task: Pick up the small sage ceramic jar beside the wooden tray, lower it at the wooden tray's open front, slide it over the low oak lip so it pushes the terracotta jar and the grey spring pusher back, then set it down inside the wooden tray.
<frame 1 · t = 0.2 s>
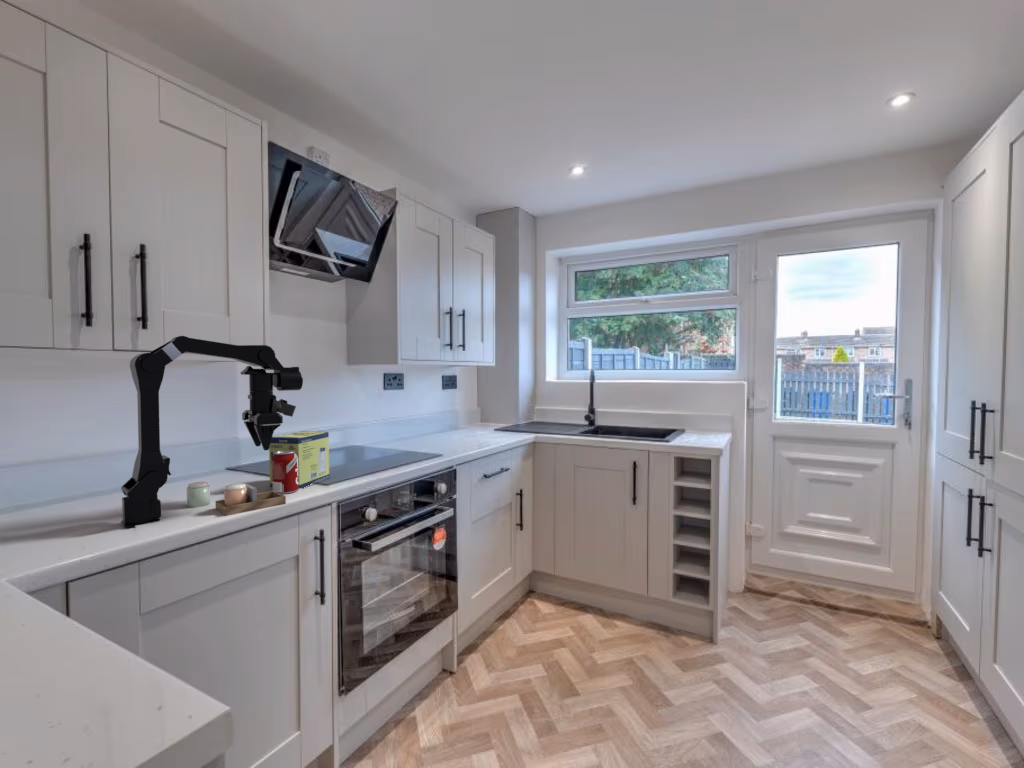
hand: (262, 448, 132), 14 cm above the counter, tool pointing down, fingers open, 9 cm apart
terracotta jar: (236, 509, 122), resting on wooden tray
wooden tray: (251, 507, 124), on the counter
sage jar: (198, 506, 126), on the counter
protein box: (301, 483, 151), on the counter
pusher: (250, 496, 124), point 3 cm above the counter, slide at 0.0 cm
soda can: (285, 493, 139), on the counter
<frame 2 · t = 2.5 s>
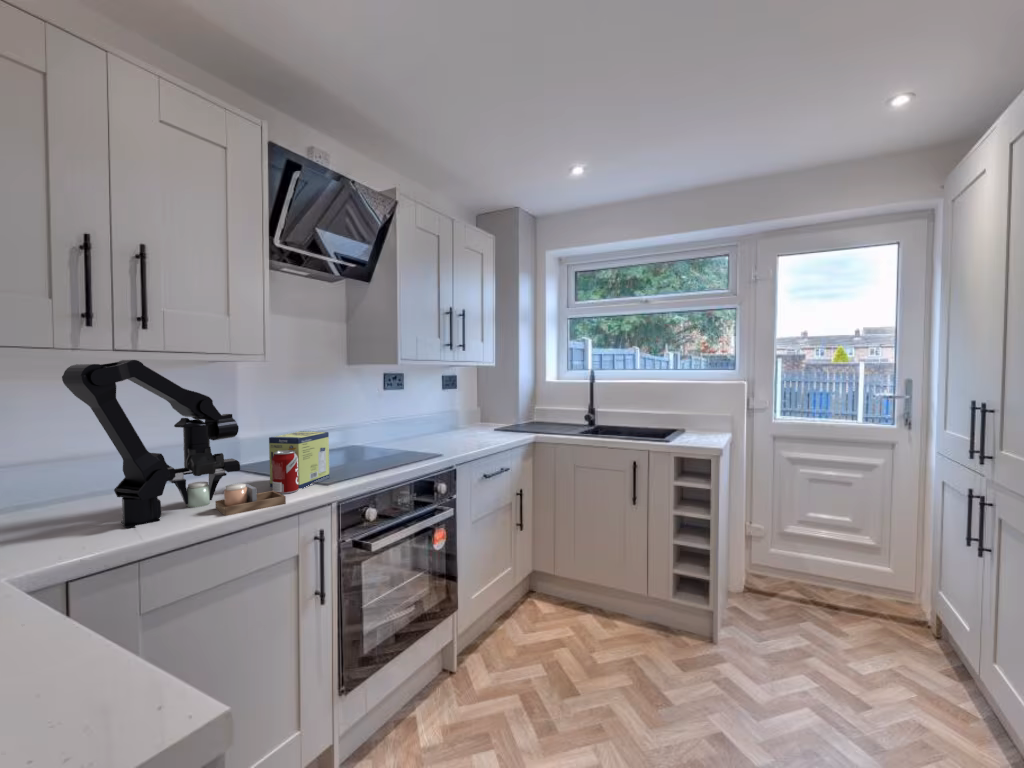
hand: (198, 502, 126), 1 cm above the counter, tool pointing down, fingers closed on sage jar, 5 cm apart
sage jar: (198, 506, 126), on the counter, touching gripper
everything else where it was.
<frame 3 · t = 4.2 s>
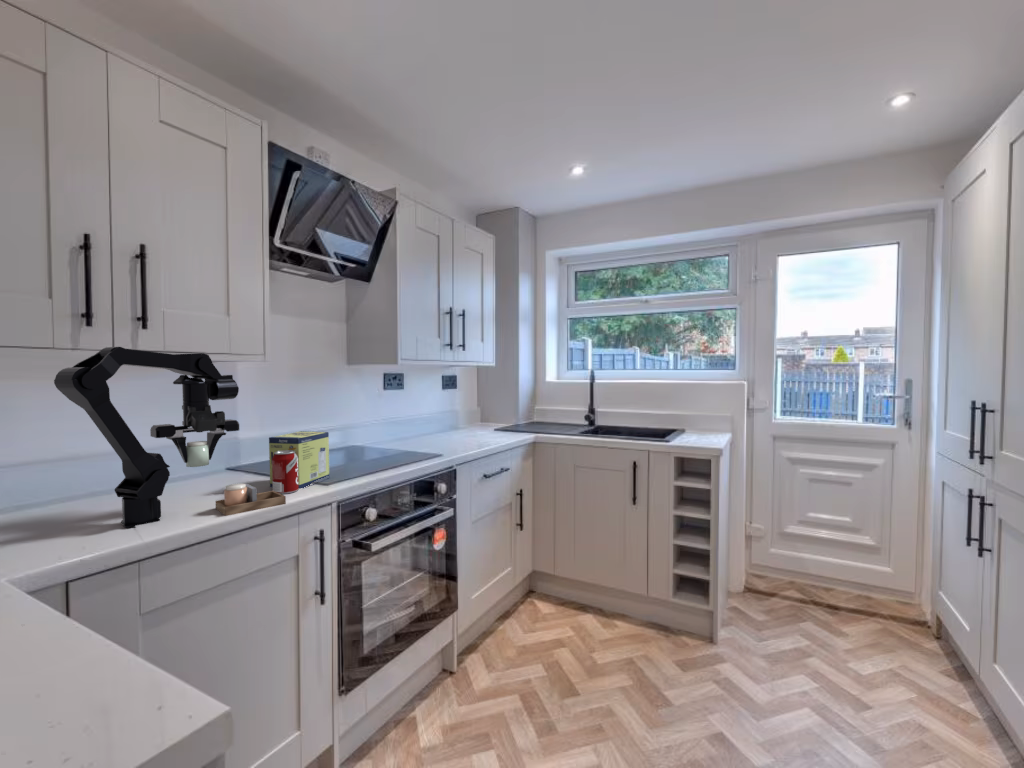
hand: (197, 461, 125), 12 cm above the counter, tool pointing down, fingers closed on sage jar, 5 cm apart
sage jar: (197, 465, 125), point 11 cm above the counter, touching gripper
everything else where it was.
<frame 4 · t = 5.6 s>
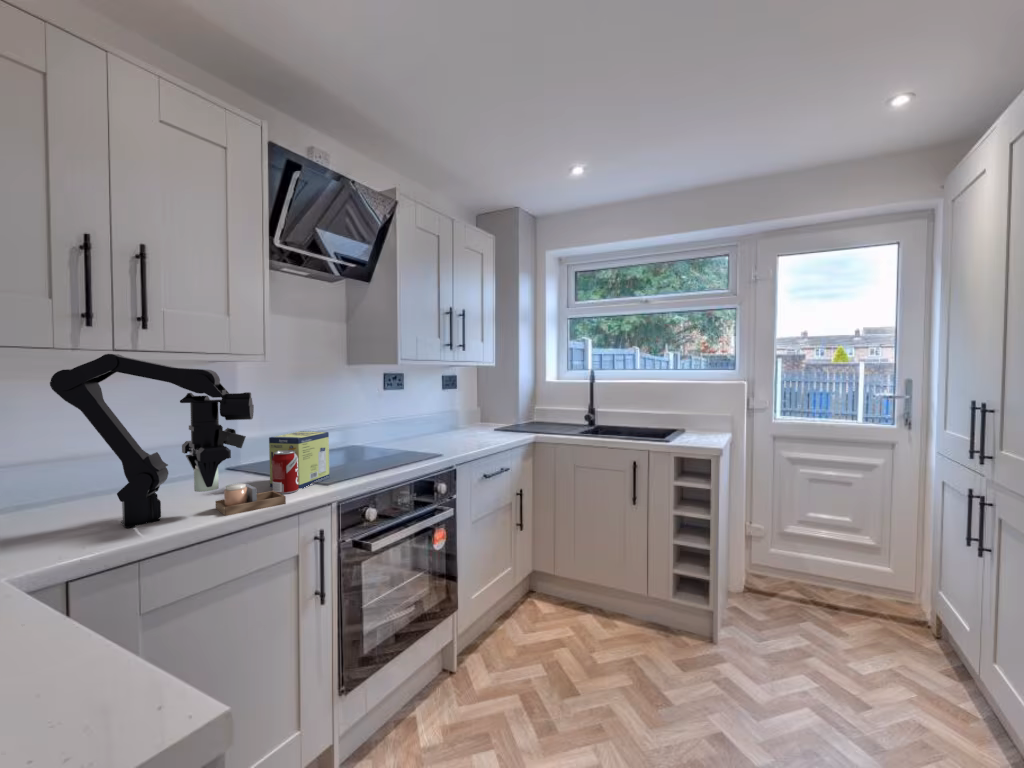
hand: (206, 485, 117), 8 cm above the counter, tool pointing down, fingers closed on sage jar, 5 cm apart
sage jar: (206, 489, 117), point 7 cm above the counter, touching gripper
everything else where it was.
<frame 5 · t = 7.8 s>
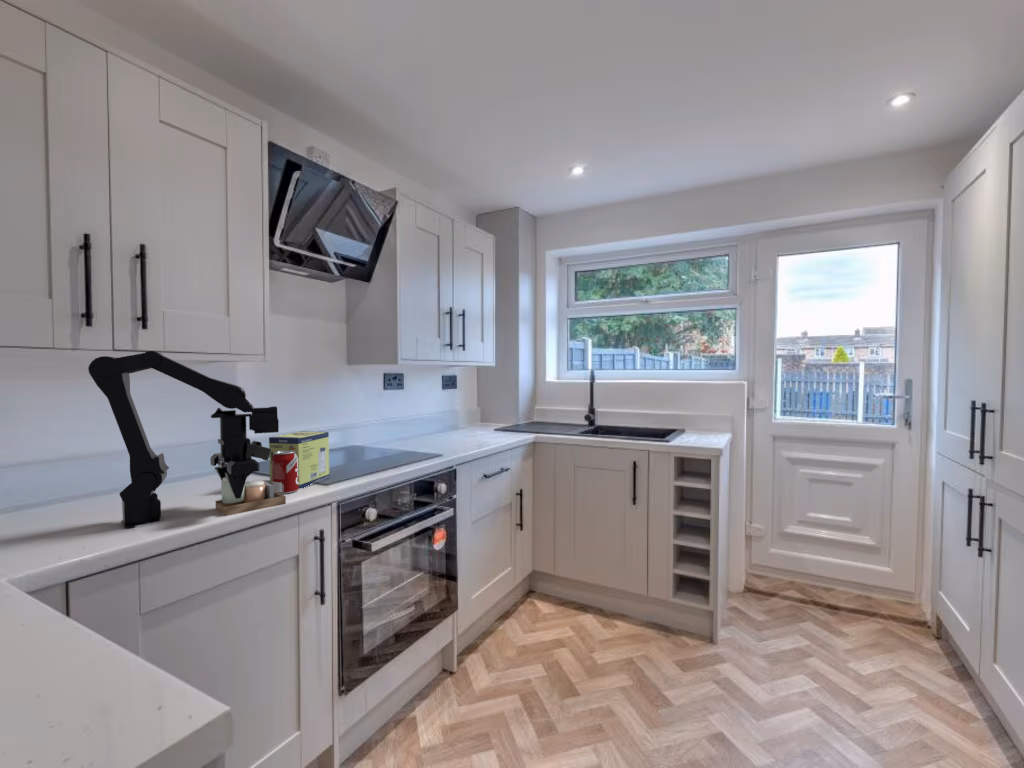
hand: (234, 496, 121), 4 cm above the counter, tool pointing down, fingers closed on sage jar, 5 cm apart
terracotta jar: (255, 505, 125), resting on wooden tray, touching pusher, sage jar
sage jar: (233, 500, 121), point 3 cm above the counter, touching gripper, terracotta jar
pusher: (267, 492, 127), point 3 cm above the counter, slide at 4.1 cm, touching terracotta jar
everything else where it was.
when the fingers open (3 cm above the counter, at t = 8.8 s): sage jar stays where it is, resting on wooden tray, terracotta jar.
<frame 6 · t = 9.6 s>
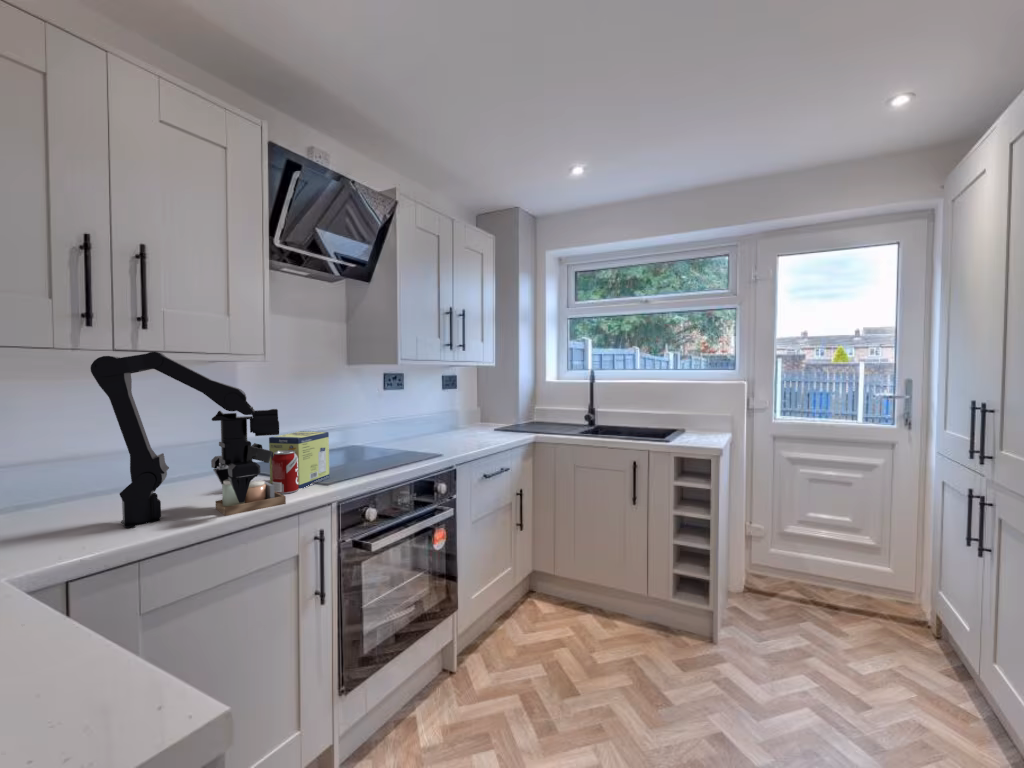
hand: (235, 498, 121), 3 cm above the counter, tool pointing down, fingers open, 9 cm apart
terracotta jar: (255, 505, 125), resting on wooden tray, touching sage jar
sage jar: (234, 503, 121), point 2 cm above the counter, touching wooden tray, terracotta jar
pusher: (267, 492, 127), point 3 cm above the counter, slide at 4.3 cm
everything else where it was.
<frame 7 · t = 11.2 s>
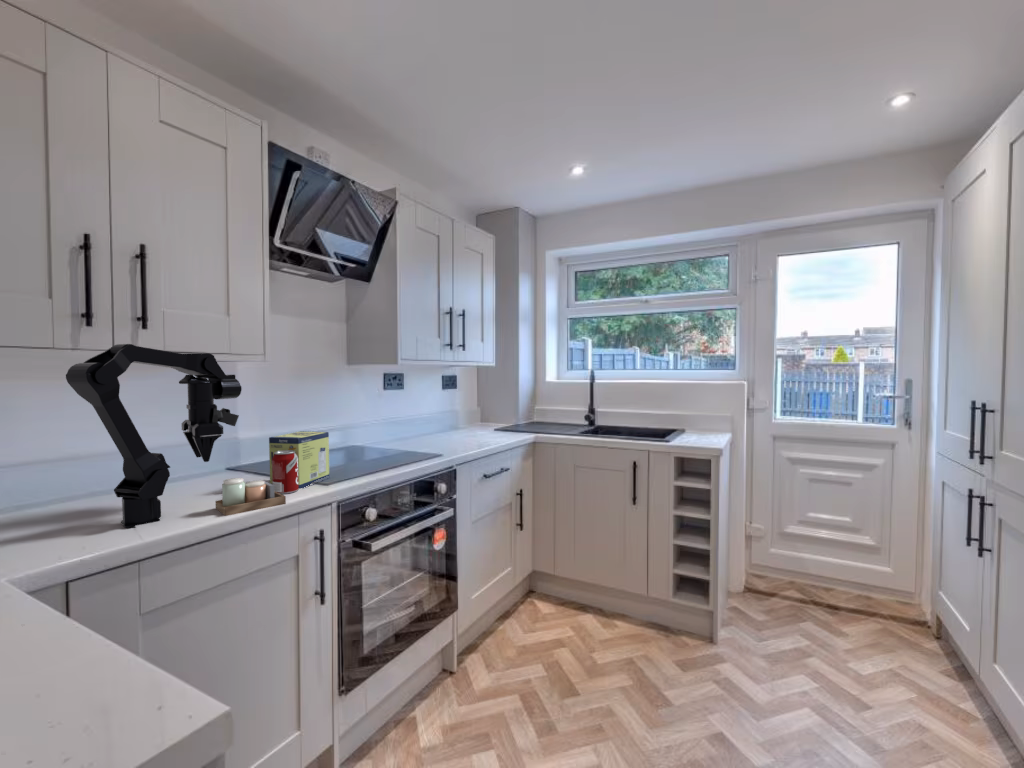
hand: (202, 459, 127), 12 cm above the counter, tool pointing down, fingers open, 9 cm apart
nothing on the counter moved.
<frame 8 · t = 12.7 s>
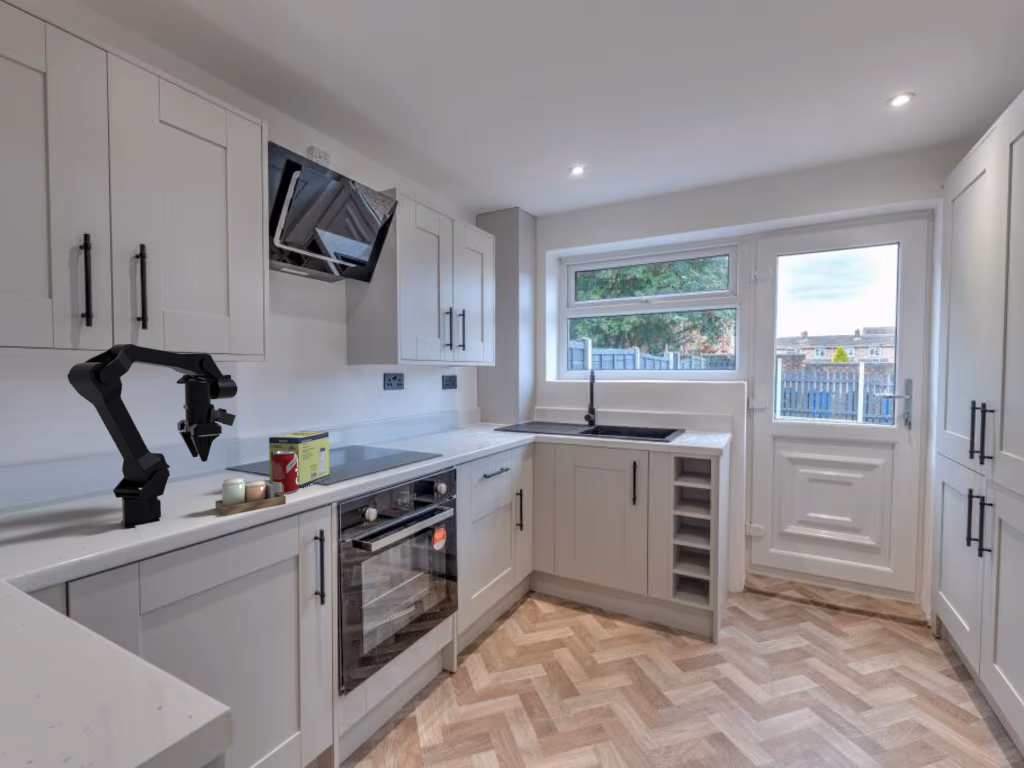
hand: (199, 459, 128), 12 cm above the counter, tool pointing down, fingers open, 9 cm apart
nothing on the counter moved.
at the end: sage jar 0.5 cm from the target spot on the wooden tray, point 1.9 cm above the wooden tray's base; sage jar tilted 0°; pusher slide at 4.3 cm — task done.
